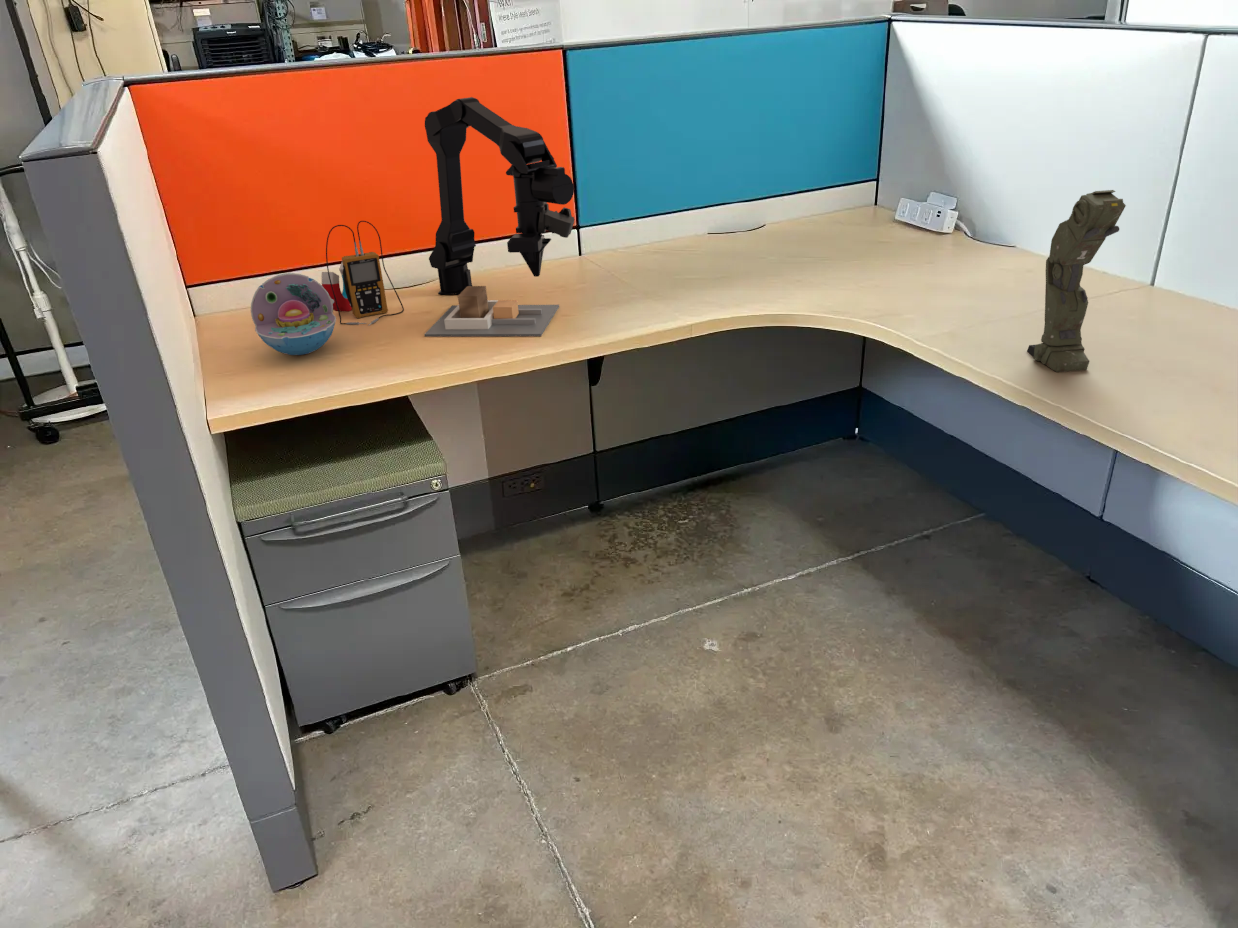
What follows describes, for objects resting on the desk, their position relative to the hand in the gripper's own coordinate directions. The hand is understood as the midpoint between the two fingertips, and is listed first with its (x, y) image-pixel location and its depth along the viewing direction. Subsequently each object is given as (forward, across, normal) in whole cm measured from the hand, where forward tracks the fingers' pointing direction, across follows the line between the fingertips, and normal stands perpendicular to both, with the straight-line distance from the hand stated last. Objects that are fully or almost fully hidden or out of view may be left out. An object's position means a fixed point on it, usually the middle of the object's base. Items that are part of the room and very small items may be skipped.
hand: (536, 276), depth 185 cm
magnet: (+8, +3, +45) cm, 46 cm away
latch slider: (+8, -5, +6) cm, 11 cm away
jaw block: (+8, -5, +13) cm, 16 cm away
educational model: (+8, -23, +42) cm, 49 cm away
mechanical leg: (+8, -26, -96) cm, 100 cm away
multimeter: (+8, -3, +36) cm, 37 cm away
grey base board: (+8, -5, +9) cm, 13 cm away
